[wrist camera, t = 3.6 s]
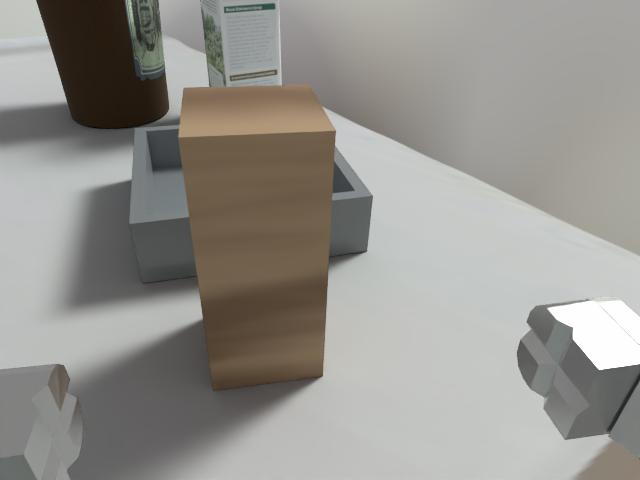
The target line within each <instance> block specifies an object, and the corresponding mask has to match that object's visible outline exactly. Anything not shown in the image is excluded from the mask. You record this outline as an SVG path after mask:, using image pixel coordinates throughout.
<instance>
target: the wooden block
mask: <svg viewBox="0 0 640 480" xmlns="http://www.w3.org/2000/svg"><path fill="white" fill-rule="evenodd" d="M335 135H336V130H335V129H334V127H333V125H332V123H331V122H330V120H329V118H328V116H327V115H326V113H325V111H324V109H323V108H322V106H321V104H320V103H319V101H318V99H317V97H316V95H315V94H314V92H313V90H312V88H311V87H310V85H274V86H236V87H197V88H184V89H183V98H182V107H181V116H180V126H179V135H178V140H179V147H180V154H181V161H182V169H183V176H184V183H185V191H186V198H187V205H188V212H189V220H190V227H191V234H192V241H193V249H194V256H195V263H196V270H197V278H198V285H199V292H200V299H201V307H202V314H203V321H204V328H205V336H206V343H207V350H208V358H209V365H210V372H211V379H212V387H213V391H215V390H223V389H230V388H238V387H245V386H253V385H260V384H268V383H275V382H283V381H290V380H298V379H306V378H313V377H321V376H323V361H324V342H325V323H326V305H327V286H328V267H329V248H330V229H331V210H332V191H333V172H334V153H335Z"/></svg>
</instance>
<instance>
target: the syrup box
mask: <svg viewBox="0 0 640 480" xmlns="http://www.w3.org/2000/svg"><path fill="white" fill-rule="evenodd" d="M200 1H201V12H202V19H203V28H204V38H205V48H206V57H207V67H208V76H209V86H210V87H236V86H274V85H281V53H280V22H279V21H280V20H279V0H200Z"/></svg>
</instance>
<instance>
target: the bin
mask: <svg viewBox="0 0 640 480" xmlns="http://www.w3.org/2000/svg"><path fill="white" fill-rule="evenodd" d="M179 126H180V125H170V126H156V127H141V128H135V134H134V151H133V168H132V184H131V201H130V218H129V226H130V230H131V235H132V239H133V244H134V248H135V253H136V257H137V262H138V266H139V271H140V275H141V280H142V283H149V282H156V281H163V280H170V279H177V278H184V277H191V276H197V270H196V263H195V256H194V249H193V241H192V234H191V227H190V220H189V212H188V205H187V198H186V191H185V183H184V176H183V169H182V161H181V154H180V147H179V140H178V135H179ZM372 198H373V195H372V194H371V193H370V191H369V190H368V189H367V188H366V186H365V185H364V184H363V182H362V181H361V180H360V178H359V177H358V176H357V174H356V173H355V172H354V170H353V169H352V168H351V166H350V165H349V164H348V162H347V161H346V160H345V158H344V157H343V156H342V154H341V153H340V152H339V150H338V149H337V148H336V146H335V153H334V172H333V191H332V210H331V229H330V248H329V256H336V255H343V254H350V253H357V252H364V251H367V246H368V236H369V227H370V217H371V208H372Z"/></svg>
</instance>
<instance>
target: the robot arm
mask: <svg viewBox="0 0 640 480" xmlns="http://www.w3.org/2000/svg"><path fill="white" fill-rule="evenodd" d="M527 323H528V325H529V327H530V329H531V330H530V331H529V332H528V333H527V334H526V335H525V336H524V337H523V338H522V339H521V340H520V343H519V347H518V350H517V358H518V367H519V369H520V372H521V374H522V377H523V379H524V380H525V382H526V383H527V385H528V386H529V388H530V389H531V390H533V391H535V392H536V393H538V394H540V395H541V396H543V397H544V408H543V409H544V410H545V412H546V413H547V414H548V416H549V417H550V419H551V420H552V422H553V423H554V425H555V426H556V428H557V429H558V431H559V432H560V433H561V435H562V436H563V438H564V439H565V440H568V439H575V438H582V437H589V436H596V435H603V434H609V436H608V437H610V438H611V439H613V440H614V441H615V442H617V443H618V444H620V445H621V446H622V447H624V448H625V449H626V450H628V451H629V452H630V453H632V454H633V455H635V456H636V457H637V458H639V459H640V318H639V317H638V316H637V315H636V314H635V313H634V312H633V311H632V310H631V309H630V308H629V307H628V306H626V305H625V304H624V303H623V302H622V301H621V300H619V299H617V298H615V297H612V296H607V297H600V298H592V299H586V300H577V301H569V302H562V303H554V304H546V305H539V306H536V307H535V308H534V309H533V310H532V311H530V314H529V317H528V319H527ZM69 381H70V378H69V376H68V374H67V371H66V369H65V367H64V365H60V364H52V365H42V366H32V367H21V368H11V369H1V370H0V480H70V477H69V475H68V473H67V469H68V468H69V467H70V466H71V465H72V464H73V463H74V461H75V460H76V459H77V458H78V457H79V453H80V448H81V444H82V435H83V418H82V412H81V407H80V404H79V402H78V399H77V398H76V397H74V396H73V395H71V394H69V393H68V392H67V388H68V385H69Z"/></svg>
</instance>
